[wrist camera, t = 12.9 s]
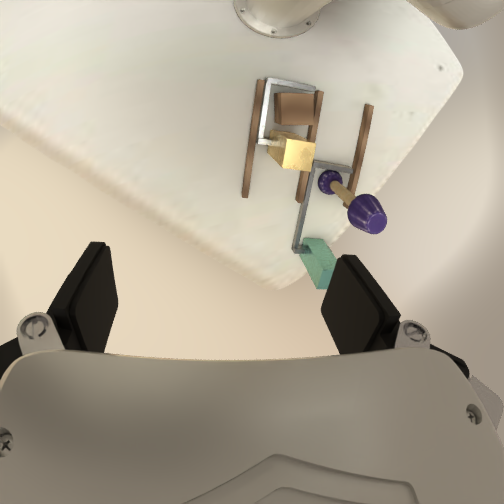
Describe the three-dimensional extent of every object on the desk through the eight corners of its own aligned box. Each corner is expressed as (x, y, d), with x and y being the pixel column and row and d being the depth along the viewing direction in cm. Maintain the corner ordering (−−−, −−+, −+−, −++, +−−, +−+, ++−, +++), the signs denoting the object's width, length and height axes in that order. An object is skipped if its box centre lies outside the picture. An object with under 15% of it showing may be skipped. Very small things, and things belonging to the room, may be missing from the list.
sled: (265, 78, 35) (281, 72, 27) (311, 86, 37) (338, 85, 28) (255, 151, 41) (267, 166, 32) (299, 156, 42) (322, 173, 34)
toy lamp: (315, 196, 46) (360, 245, 32) (313, 169, 44) (361, 208, 29) (341, 191, 46) (393, 237, 32) (340, 165, 44) (397, 202, 29)
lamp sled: (310, 159, 43) (334, 176, 34) (348, 166, 44) (379, 185, 35) (289, 255, 51) (305, 289, 43) (325, 256, 52) (345, 289, 44)
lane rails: (257, 80, 35) (259, 79, 34) (369, 105, 39) (373, 106, 37) (241, 194, 44) (242, 197, 43) (346, 205, 48) (350, 209, 46)
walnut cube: (273, 93, 37) (280, 92, 33) (303, 94, 37) (313, 93, 33) (274, 122, 39) (281, 124, 35) (303, 122, 40) (313, 125, 36)
